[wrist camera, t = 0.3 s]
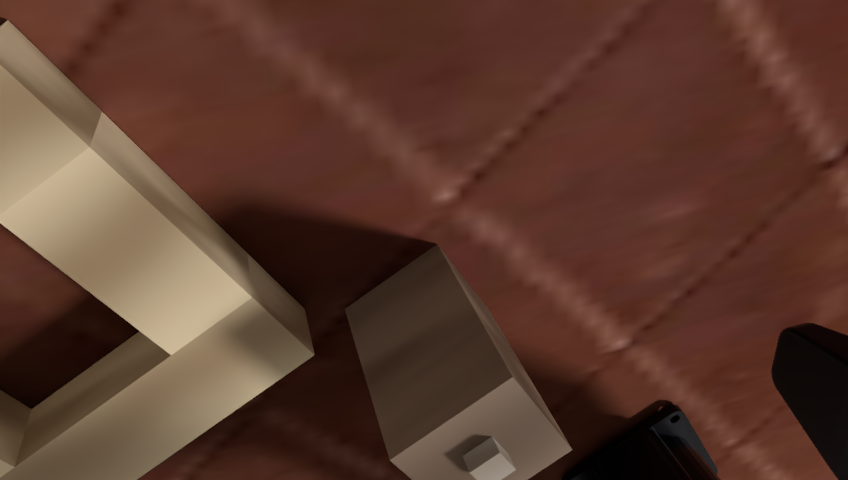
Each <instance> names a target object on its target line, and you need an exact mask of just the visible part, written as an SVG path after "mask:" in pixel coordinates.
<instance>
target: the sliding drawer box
mask: <svg viewBox="0 0 848 480" xmlns="http://www.w3.org/2000/svg"><path fill="white" fill-rule="evenodd" d="M345 312H346V315H347V319H348V322H349V325H350V329H351V332H352V335H353V339H354V342H355V345H356V349H357V352H358V356H359V359H360V362H361V366H362V369H363V372H364V376H365V379H366V382H367V386H368V389H369V392H370V396H371V399H372V403H373V406H374V409H375V413H376V416H377V419H378V423H379V426H380V429H381V433H382V436H383V440H384V443H385V446H386V450H387V453H388V456H389V460H390V461H391V462H392V463H393V464H395V465H396V466H397V467H398V468H399V469H400V470H401V471H403V472H404V473H405V474H406V475H407V476H408V477H409V478H411V479H412V480H528V479H529V478H531V477H532V476H534V475H535V474H537V473H538V472H540V471H541V470H543V469H544V468H546V467H547V466H549V465H550V464H552V463H554V462H555V461H557V460H558V459H560V458H561V457H563V456H564V455H566V454H567V453H569V452H570V451H572V448H571V446H570V445H569V443H568V441H567V440H566V438H565V436H564V435H563V433H562V431H561V430H560V428H559V426H558V425H557V423H556V421H555V420H554V418H553V416H552V415H551V413H550V411H549V410H548V408H547V406H546V405H545V403H544V401H543V400H542V398H541V396H540V395H539V393H538V391H537V390H536V388H535V386H534V384H533V383H532V381H531V379H530V378H529V376H528V374H527V373H526V371H525V369H524V368H523V366H522V364H521V363H520V361H519V359H518V358H517V356H516V354H515V353H514V351H513V349H512V348H511V346H510V344H509V343H508V341H507V339H506V338H505V336H504V334H503V333H502V331H501V329H500V328H499V326H498V324H497V323H496V321H495V319H494V318H493V316H492V314H491V313H490V311H489V310H488V309H487V307H486V306H485V305H484V303H483V302H482V301H481V300H480V298H479V297H478V296H477V294H476V293H475V292H474V291H473V289H472V288H471V287H470V285H469V284H468V283H467V282H466V280H465V279H464V278H463V276H462V275H461V274H460V273H459V271H458V270H457V269H456V267H455V266H454V265H453V263H452V262H451V261H450V260H449V258H448V257H447V256H446V254H445V253H444V252H443V251H442V249H441V248H440V247H439V245H438V244H436V245H435V246H434V247H432V248H431V249H429V250H428V251H427V252H425V253H424V254H422V255H421V256H419V257H418V258H417V259H415V260H414V261H412V262H411V263H409V264H408V265H407V266H405V267H404V268H402V269H401V270H400V271H398V272H397V273H395V274H394V275H392V276H391V277H390V278H388V279H387V280H385V281H384V282H382V283H381V284H380V285H378V286H377V287H375V288H374V289H373V290H371V291H370V292H368V293H367V294H365V295H364V296H363V297H361V298H360V299H358V300H357V301H355V302H354V303H353V304H351V305H350V306H348V307H347V308H345Z"/></svg>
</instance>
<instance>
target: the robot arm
mask: <svg viewBox="0 0 848 480" xmlns="http://www.w3.org/2000/svg"><path fill="white" fill-rule="evenodd" d="M771 373H772V379H773V382H774V384H775V387H776V388H777V390H778V391H779V393H780V394H781V396H782V397H783V399H784V400H785V402H786V403H787V405H788V406H789V408H790V409H791V411H792V412H793V414H794V415H795V417H796V418H797V420H798V421H799V423H800V424H801V426H802V427H803V429H804V430H805V432H806V433H807V435H808V436H809V438H810V439H811V441H812V442H813V444H814V445H815V447H816V448H817V450H818V451H819V453H820V454H821V456H822V457H823V459H824V460H825V462H826V463H827V465H828V466H829V467H830V469H831V470H832V472H833V473H834V474H835V476H836V477H837V478H838V480H848V336H847V335H845V334H842V333H839V332H836V331H834V330H831V329H828V328H825V327H822V326H820V325H817V324H814V323H804V324H800V325H796V326H792V327H788V328H786V329H784V330H783V331H782V332H781V333H780V336H779V339H778V343H777V348H776V352H775V356H774V361H773V365H772V370H771ZM716 474H717V468H716V466H715V464H714V463H713V461H712V459H711V458H710V456H709V454H708V453H707V451H706V449H705V448H704V446H703V444H702V443H701V441H700V439H699V437H698V436H697V434H696V432H695V431H694V429H693V427H692V426H691V424H690V422H689V421H688V419H687V417H686V416H685V414H684V412H683V411H682V410H681V409H680V408H679V407H678V406H677V405H671V406H669V407H667V408H665V409H664V410H662V411H661V412H659V413H658V414H656V415H655V416H653V417H652V418H650V419H648V420H647V421H645V422H644V423H642V424H641V425H639V426H638V427H636V428H635V429H633V430H632V431H630V432H629V433H627V434H626V435H624V436H623V437H621V438H620V439H618V440H617V441H615V442H614V443H612V444H610V445H609V446H607V447H606V448H604V449H603V450H601V451H600V452H598V453H597V454H595V455H594V456H592V457H591V458H589V459H588V460H586V461H585V462H583V463H582V464H580V465H579V466H577V467H576V468H574V469H572V470H571V471H569V472H568V473H567V474H565V475H564V477H563V478H562V480H720V478H719V477H718V476H717V475H716Z"/></svg>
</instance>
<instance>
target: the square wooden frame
mask: <svg viewBox="0 0 848 480" xmlns="http://www.w3.org/2000/svg"><path fill="white" fill-rule="evenodd" d="M0 223H1V224H2V225H3V226H5V227H6V228H7V229H8V230H10V231H11V232H12V233H14V234H15V235H16V236H17V237H19V238H20V239H21V240H23V241H24V242H25V243H27V244H28V245H29V246H30V247H32V248H33V249H34V250H36V251H37V252H38V253H39V254H41V255H42V256H43V257H45V258H46V259H47V260H48V261H50V262H51V263H52V264H54V265H55V266H56V267H58V268H59V269H60V270H61V271H63V272H64V273H65V274H67V275H68V276H69V277H70V278H72V279H73V280H74V281H76V282H77V283H78V284H79V285H81V286H82V287H83V288H85V289H86V290H87V291H89V292H90V293H91V294H92V295H94V296H95V297H96V298H98V299H99V300H100V301H101V302H103V303H104V304H105V305H107V306H108V307H109V308H110V309H112V310H113V311H114V312H116V313H117V314H118V315H120V316H121V317H122V318H123V319H125V320H126V321H127V322H129V323H130V324H131V325H132V326H134V327H135V328H136V329H138V330H139V332H138V333H136V334H135V335H134V336H132V337H131V338H130V339H128V340H127V341H125V342H124V343H123V344H121V345H120V346H118V347H117V348H116V349H114V350H113V351H112V352H110V353H109V354H107V355H106V356H105V357H103V358H102V359H100V360H99V361H98V362H96V363H95V364H94V365H92V366H91V367H89V368H88V369H87V370H85V371H84V372H82V373H81V374H80V375H78V376H77V377H75V378H74V379H73V380H71V381H70V382H69V383H67V384H66V385H64V386H63V387H62V388H60V389H59V390H57V391H56V392H55V393H53V394H52V395H51V396H49V397H48V398H46V399H45V400H44V401H42V402H41V403H39V404H38V405H37V406H35V407H34V408H33V409H31V408H29V407H27V406H26V405H24V404H22V403H21V402H19V401H18V400H16V399H14V398H13V397H11V396H9V395H8V394H6V393H5V392H3V391H1V390H0V480H137V479H138V478H140V477H141V476H143V475H144V474H145V473H147V472H148V471H150V470H151V469H153V468H154V467H155V466H157V465H158V464H160V463H161V462H163V461H164V460H165V459H167V458H168V457H170V456H171V455H173V454H174V453H175V452H177V451H178V450H180V449H181V448H183V447H184V446H185V445H187V444H188V443H190V442H191V441H193V440H194V439H195V438H197V437H198V436H200V435H201V434H203V433H204V432H205V431H207V430H208V429H210V428H211V427H213V426H214V425H215V424H217V423H218V422H220V421H221V420H223V419H224V418H225V417H227V416H228V415H230V414H231V413H233V412H234V411H235V410H237V409H238V408H240V407H241V406H243V405H244V404H245V403H247V402H248V401H250V400H251V399H253V398H254V397H255V396H257V395H258V394H260V393H261V392H263V391H264V390H265V389H267V388H268V387H270V386H271V385H273V384H274V383H275V382H277V381H278V380H280V379H281V378H283V377H284V376H285V375H287V374H288V373H290V372H291V371H293V370H294V369H295V368H297V367H298V366H300V365H301V364H303V363H304V362H305V361H307V360H308V359H310V358H311V357H313V356H314V355H315V354H314V350H313V345H312V340H311V336H310V331H309V326H308V322H307V317H306V312H305V309H304V308H303V307H302V306H301V305H300V304H299V303H298V302H297V301H296V300H295V299H294V298H293V297H292V296H291V295H290V294H289V293H288V292H287V291H286V290H285V289H284V288H283V287H282V286H281V285H280V284H278V283H277V282H276V281H275V280H274V279H273V278H272V277H271V276H270V275H269V274H268V273H267V272H266V271H265V270H264V269H263V268H262V267H261V266H260V265H259V264H258V263H257V262H256V261H255V260H254V259H253V258H252V257H251V256H250V255H249V254H248V253H247V252H246V251H245V250H244V249H243V248H241V247H240V246H239V245H238V244H237V243H236V242H235V241H234V240H233V239H232V238H231V237H230V236H229V235H228V234H227V233H226V232H225V231H224V230H223V229H222V228H221V227H220V226H219V225H218V224H217V223H216V222H215V221H214V220H213V219H212V218H211V217H210V216H209V215H208V214H207V213H206V212H205V211H203V210H202V209H201V208H200V207H199V206H198V205H197V204H196V203H195V202H194V201H193V200H192V199H191V198H190V197H189V196H188V195H187V194H186V193H185V192H184V191H183V190H182V189H181V188H180V187H179V186H178V185H177V184H176V183H175V182H174V181H173V180H172V179H171V178H170V177H169V176H168V175H167V174H165V173H164V172H163V171H162V170H161V169H160V168H159V167H158V166H157V165H156V164H155V163H154V162H153V161H152V160H151V159H150V158H149V157H148V156H147V155H146V154H145V153H144V152H143V151H142V150H141V149H140V148H139V147H138V146H137V145H136V144H135V143H134V142H133V141H132V140H131V139H130V138H128V137H127V136H126V135H125V134H124V133H123V132H122V131H121V130H120V129H119V128H118V127H117V126H116V125H115V124H114V123H113V122H112V121H111V120H110V119H109V118H108V117H107V116H106V115H105V114H104V113H103V112H102V111H101V110H100V109H99V108H98V107H97V106H96V105H95V104H94V103H93V102H92V101H90V100H89V99H88V98H87V97H86V96H85V95H84V94H83V93H82V92H81V91H80V90H79V89H78V88H77V87H76V86H75V85H74V84H73V83H72V82H71V81H70V80H69V79H68V78H67V77H66V76H65V75H64V74H63V73H62V72H61V71H60V70H59V69H58V68H57V67H56V66H55V65H53V64H52V63H51V62H50V61H49V60H48V59H47V58H46V57H45V56H44V55H43V54H42V53H41V52H40V51H39V50H38V49H37V48H36V47H35V46H34V45H33V44H32V43H31V42H30V41H29V40H28V39H27V38H26V37H25V36H24V35H23V34H22V33H21V32H20V31H19V30H18V29H17V28H15V27H14V26H13V25H12V24H11V23H10V22H9V21H8V20H7V21H6V22H5V23H3V24H2V25H1V26H0Z"/></svg>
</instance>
